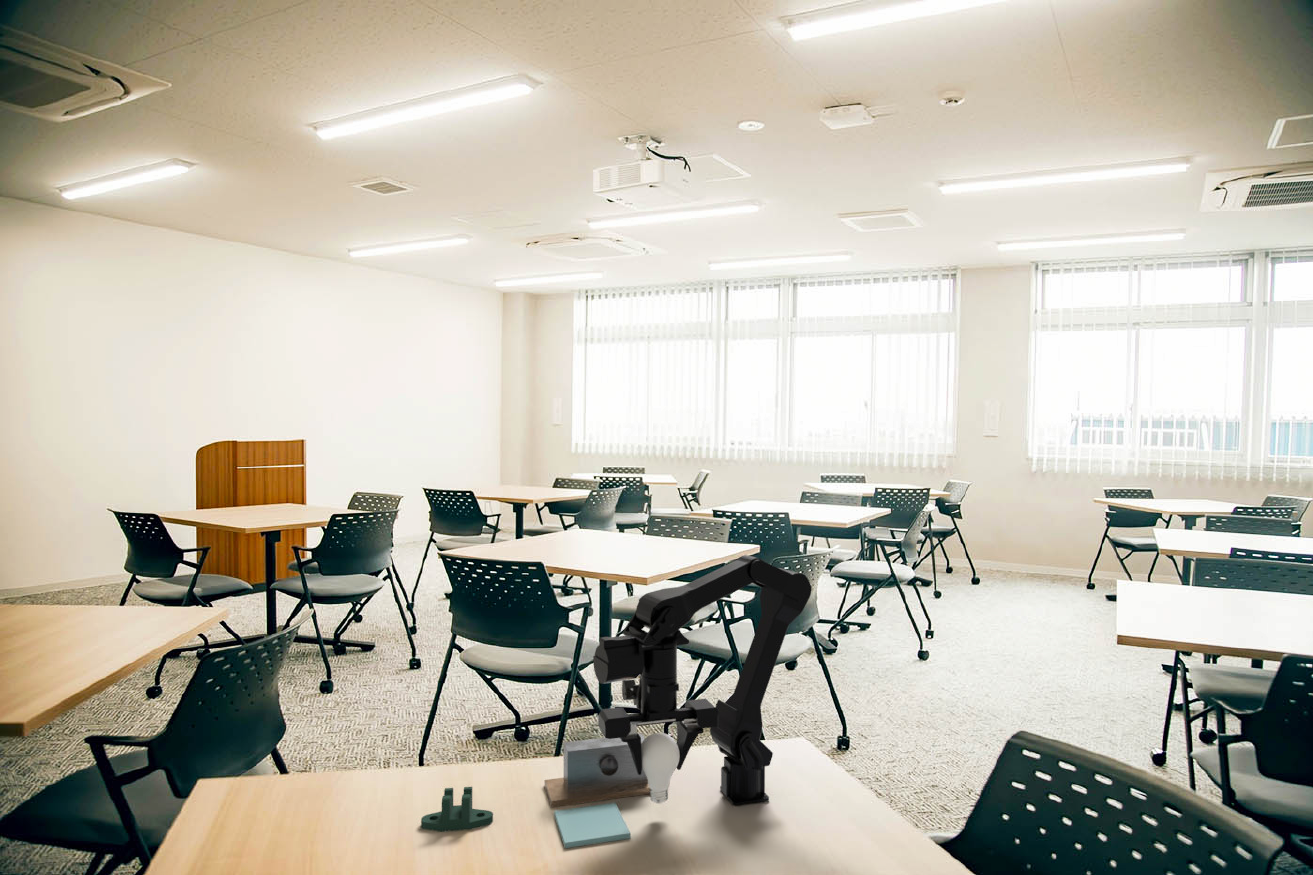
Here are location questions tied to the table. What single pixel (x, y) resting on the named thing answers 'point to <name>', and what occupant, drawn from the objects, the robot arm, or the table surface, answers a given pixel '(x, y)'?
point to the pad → (591, 825)
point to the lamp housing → (596, 773)
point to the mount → (456, 814)
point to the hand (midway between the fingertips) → (658, 771)
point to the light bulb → (659, 763)
